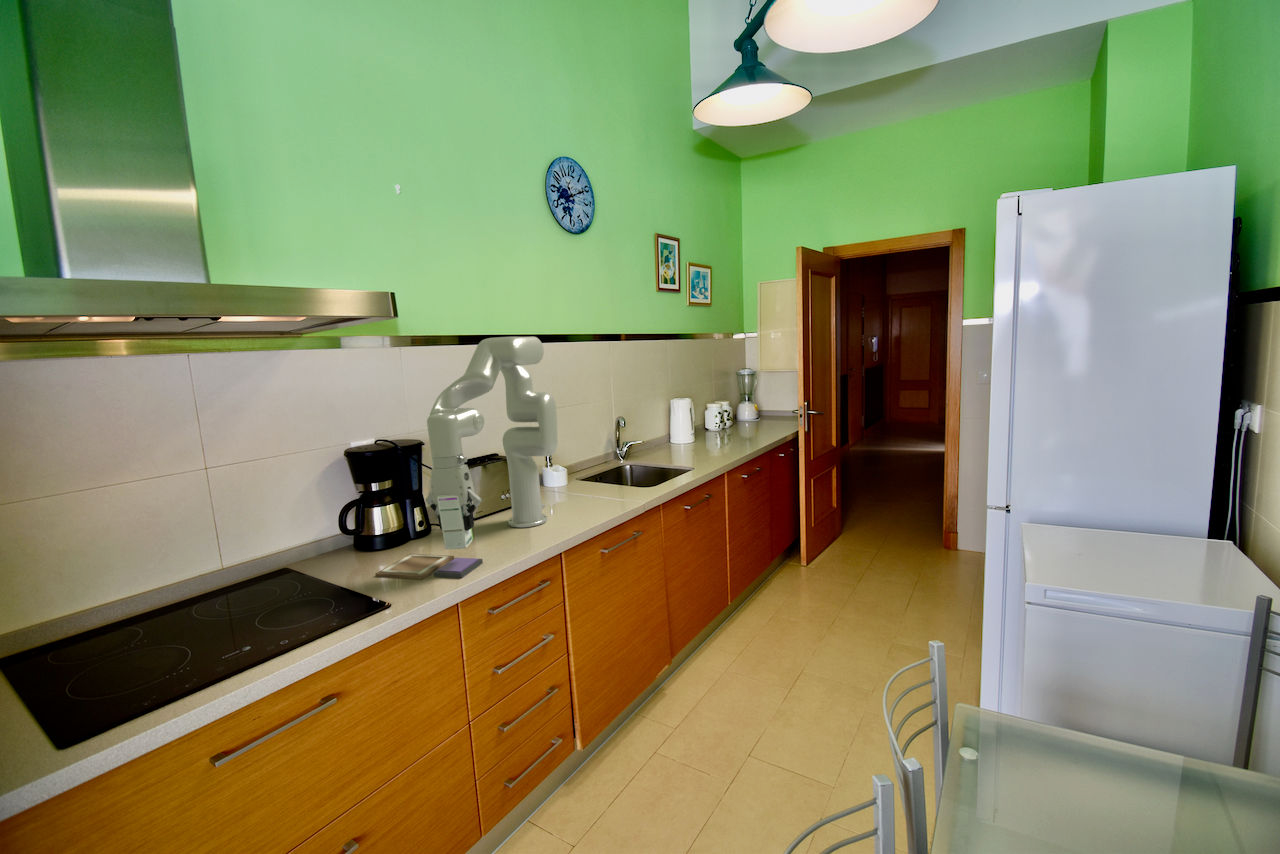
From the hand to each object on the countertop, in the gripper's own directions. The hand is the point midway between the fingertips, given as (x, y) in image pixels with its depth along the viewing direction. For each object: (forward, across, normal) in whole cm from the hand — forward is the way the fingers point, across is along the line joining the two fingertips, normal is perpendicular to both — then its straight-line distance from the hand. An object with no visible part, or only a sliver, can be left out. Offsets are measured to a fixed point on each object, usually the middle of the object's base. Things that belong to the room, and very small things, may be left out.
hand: (456, 527), depth 145 cm
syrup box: (+5, 0, 0) cm, 5 cm away
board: (+11, +13, +2) cm, 17 cm away
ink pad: (+11, 0, +2) cm, 11 cm away
